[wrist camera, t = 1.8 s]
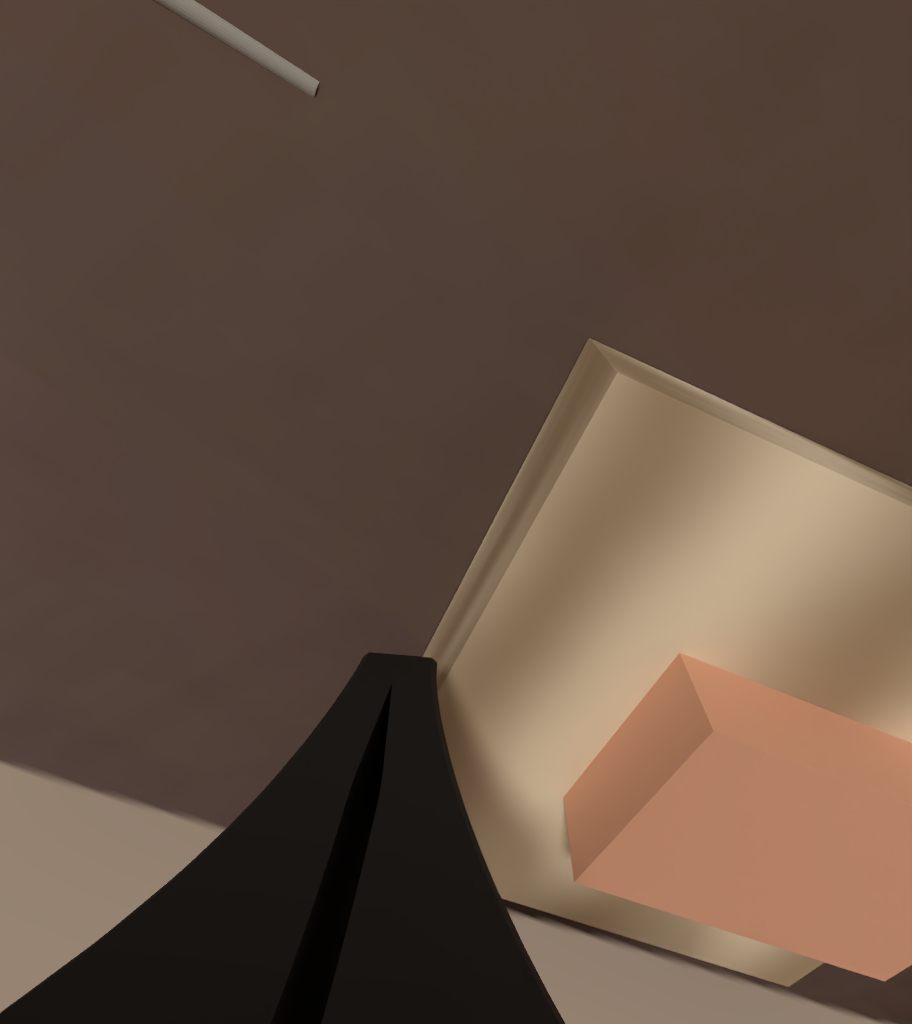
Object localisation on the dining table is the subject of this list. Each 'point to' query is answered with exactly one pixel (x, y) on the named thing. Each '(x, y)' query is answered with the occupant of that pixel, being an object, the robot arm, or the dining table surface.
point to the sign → (241, 43)
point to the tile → (753, 819)
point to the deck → (660, 614)
